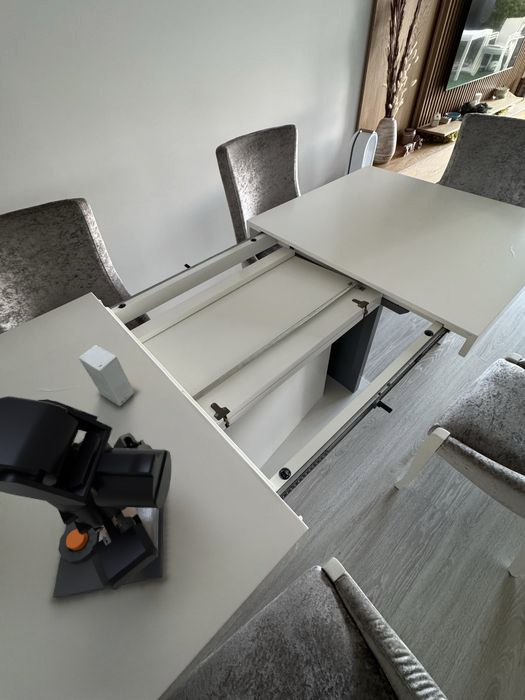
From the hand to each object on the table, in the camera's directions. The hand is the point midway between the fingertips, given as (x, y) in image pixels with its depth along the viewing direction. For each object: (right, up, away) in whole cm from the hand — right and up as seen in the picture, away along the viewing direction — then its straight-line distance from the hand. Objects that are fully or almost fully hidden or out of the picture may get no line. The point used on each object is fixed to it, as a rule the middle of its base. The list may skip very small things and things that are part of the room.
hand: (120, 523), depth 50 cm
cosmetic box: (-10, +16, +23) cm, 30 cm away
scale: (-3, -5, +5) cm, 8 cm away
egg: (0, -1, +1) cm, 2 cm away
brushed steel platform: (0, -3, +3) cm, 4 cm away
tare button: (-7, -4, +2) cm, 9 cm away
